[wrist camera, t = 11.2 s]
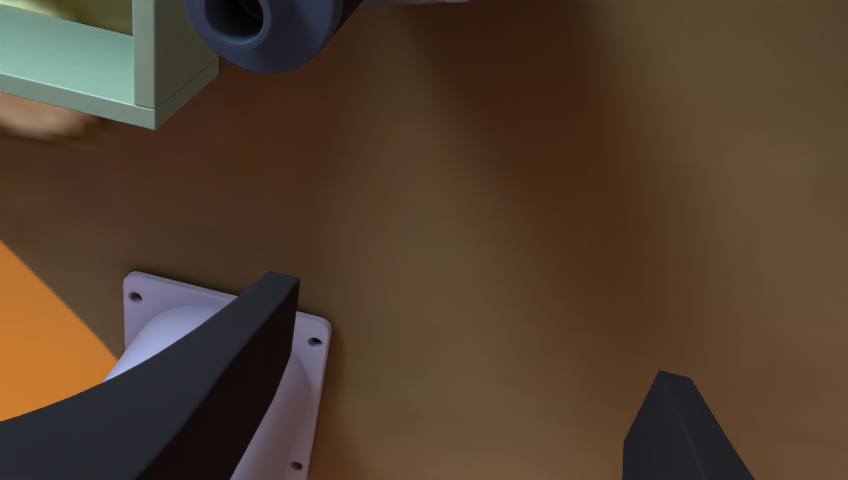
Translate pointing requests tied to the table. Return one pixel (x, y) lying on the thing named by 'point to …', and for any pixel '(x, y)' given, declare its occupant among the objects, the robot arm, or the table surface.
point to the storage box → (107, 62)
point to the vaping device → (275, 28)
